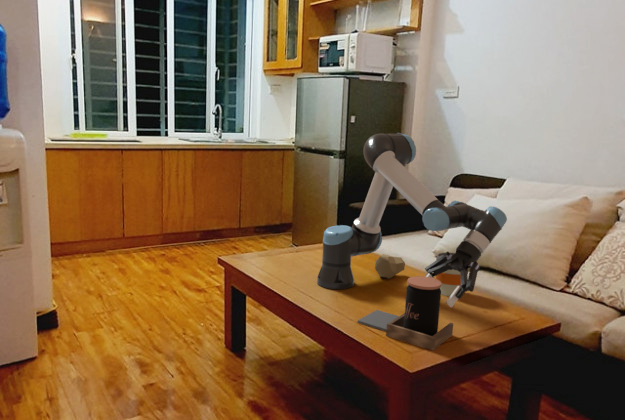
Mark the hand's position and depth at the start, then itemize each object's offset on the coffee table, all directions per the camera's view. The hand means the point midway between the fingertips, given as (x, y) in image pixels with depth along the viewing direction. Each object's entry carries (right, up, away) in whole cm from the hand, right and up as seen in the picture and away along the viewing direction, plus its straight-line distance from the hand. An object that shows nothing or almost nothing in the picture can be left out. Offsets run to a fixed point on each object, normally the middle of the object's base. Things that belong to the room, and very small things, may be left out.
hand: (433, 297), depth 169 cm
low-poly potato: (-5, -1, +61) cm, 61 cm away
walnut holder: (-4, -12, +2) cm, 13 cm away
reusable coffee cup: (+16, -5, +43) cm, 47 cm away
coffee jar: (-4, -12, +2) cm, 13 cm away
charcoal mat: (-15, -10, +11) cm, 21 cm away
